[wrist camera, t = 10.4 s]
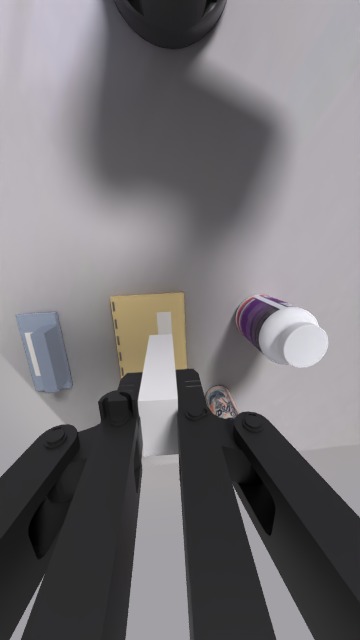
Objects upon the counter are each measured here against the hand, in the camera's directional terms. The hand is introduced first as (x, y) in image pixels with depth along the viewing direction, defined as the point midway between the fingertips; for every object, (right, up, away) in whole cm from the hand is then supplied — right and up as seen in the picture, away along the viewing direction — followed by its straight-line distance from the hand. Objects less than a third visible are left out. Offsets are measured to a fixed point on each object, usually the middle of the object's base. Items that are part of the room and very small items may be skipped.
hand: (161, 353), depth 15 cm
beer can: (+9, -13, +29) cm, 33 cm away
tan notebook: (-4, -2, +25) cm, 25 cm away
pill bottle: (+15, +3, +25) cm, 29 cm away
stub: (-22, -3, +24) cm, 32 cm away
